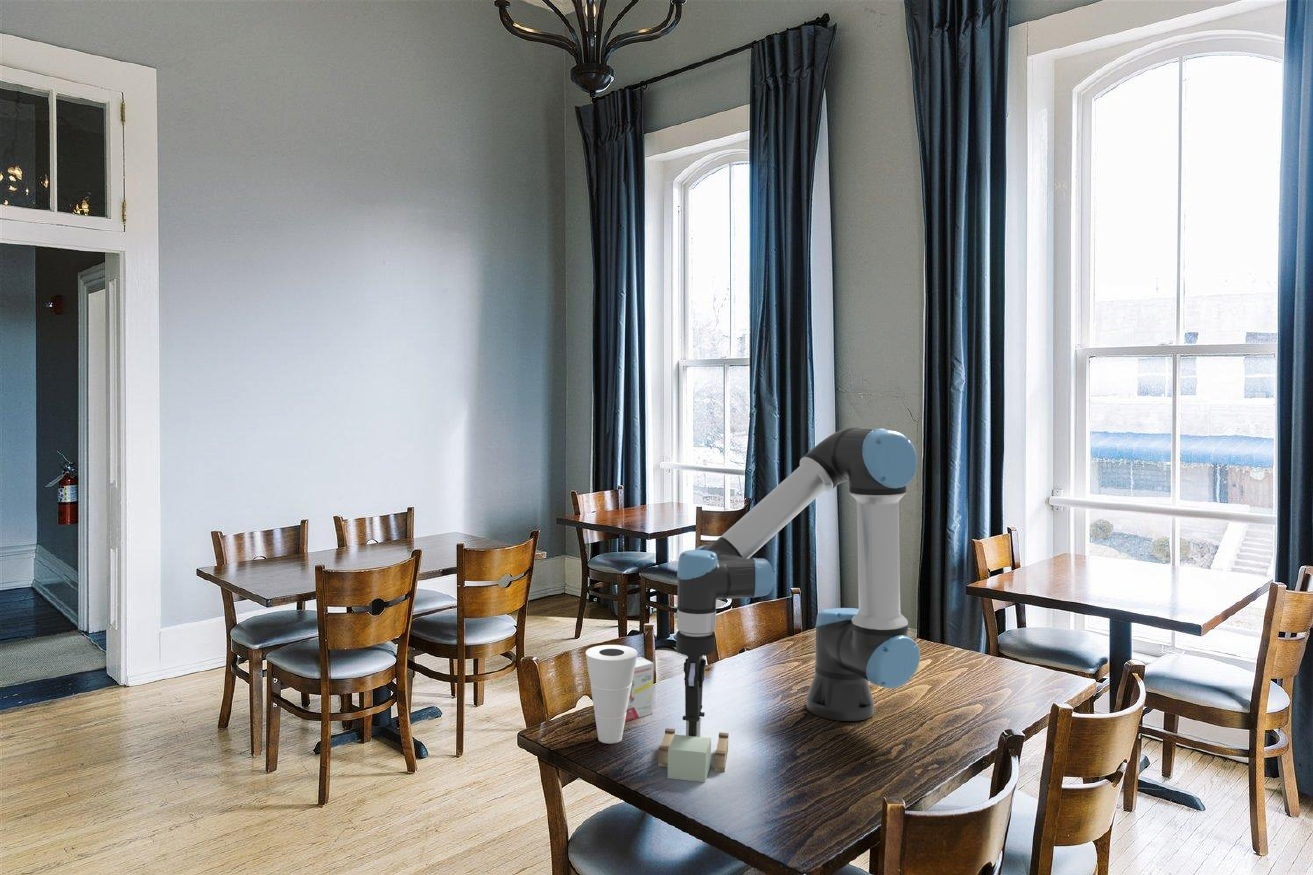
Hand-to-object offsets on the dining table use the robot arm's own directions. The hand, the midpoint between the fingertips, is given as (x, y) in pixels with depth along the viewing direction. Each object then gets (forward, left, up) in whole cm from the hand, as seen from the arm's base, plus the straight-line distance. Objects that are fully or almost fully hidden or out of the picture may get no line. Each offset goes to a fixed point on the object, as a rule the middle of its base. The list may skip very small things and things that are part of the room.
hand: (692, 751), depth 163 cm
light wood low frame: (0, -1, -2) cm, 2 cm away
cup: (+18, -7, -2) cm, 19 cm away
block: (0, +5, -2) cm, 6 cm away
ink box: (+16, -21, -2) cm, 26 cm away
